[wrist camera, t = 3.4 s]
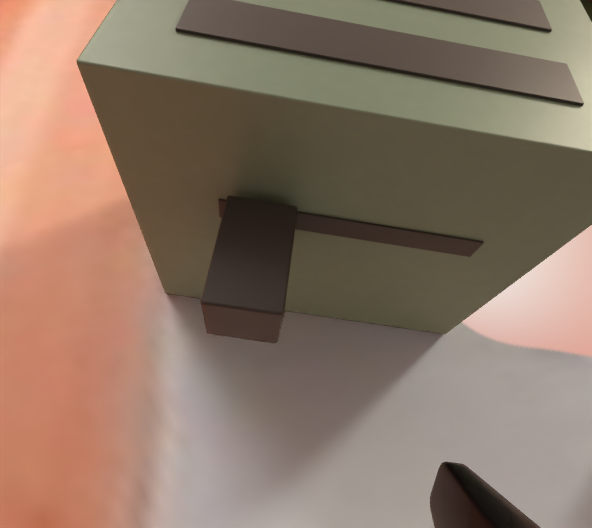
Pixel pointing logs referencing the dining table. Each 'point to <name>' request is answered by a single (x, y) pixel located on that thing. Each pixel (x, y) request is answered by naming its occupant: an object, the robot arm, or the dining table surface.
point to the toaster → (355, 141)
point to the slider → (249, 270)
